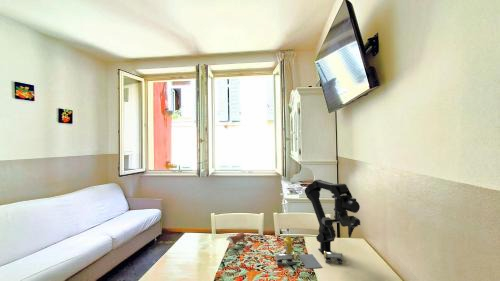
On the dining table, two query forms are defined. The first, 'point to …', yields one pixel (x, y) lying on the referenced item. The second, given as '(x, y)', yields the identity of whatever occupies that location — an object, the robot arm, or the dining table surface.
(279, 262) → the shaft
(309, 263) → the seat mat
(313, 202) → the robot arm
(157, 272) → the dining table surface
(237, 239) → the bull figurine
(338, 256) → the shaft
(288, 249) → the pressure relief valve
